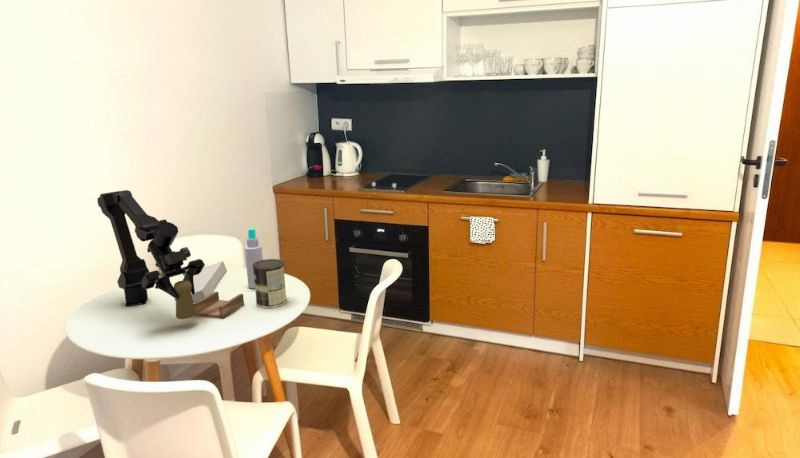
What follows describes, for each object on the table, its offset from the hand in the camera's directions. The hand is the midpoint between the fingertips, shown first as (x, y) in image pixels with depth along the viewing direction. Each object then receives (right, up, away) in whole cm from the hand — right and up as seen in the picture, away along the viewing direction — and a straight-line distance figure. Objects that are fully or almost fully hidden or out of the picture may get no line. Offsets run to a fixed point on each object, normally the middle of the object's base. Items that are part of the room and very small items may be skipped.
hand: (186, 296), depth 172 cm
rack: (+6, -7, +15) cm, 17 cm away
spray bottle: (+12, -1, +37) cm, 39 cm away
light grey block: (-8, -2, +39) cm, 40 cm away
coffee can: (+22, -5, +20) cm, 30 cm away
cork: (-1, -6, +3) cm, 7 cm away
